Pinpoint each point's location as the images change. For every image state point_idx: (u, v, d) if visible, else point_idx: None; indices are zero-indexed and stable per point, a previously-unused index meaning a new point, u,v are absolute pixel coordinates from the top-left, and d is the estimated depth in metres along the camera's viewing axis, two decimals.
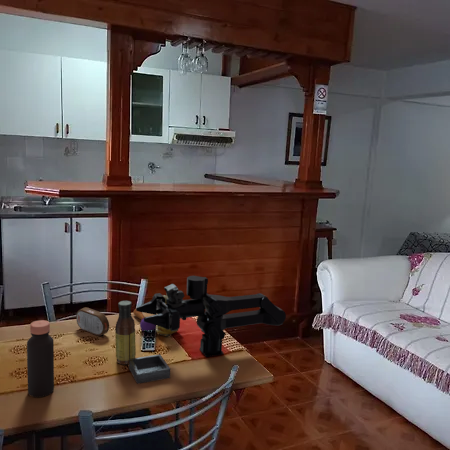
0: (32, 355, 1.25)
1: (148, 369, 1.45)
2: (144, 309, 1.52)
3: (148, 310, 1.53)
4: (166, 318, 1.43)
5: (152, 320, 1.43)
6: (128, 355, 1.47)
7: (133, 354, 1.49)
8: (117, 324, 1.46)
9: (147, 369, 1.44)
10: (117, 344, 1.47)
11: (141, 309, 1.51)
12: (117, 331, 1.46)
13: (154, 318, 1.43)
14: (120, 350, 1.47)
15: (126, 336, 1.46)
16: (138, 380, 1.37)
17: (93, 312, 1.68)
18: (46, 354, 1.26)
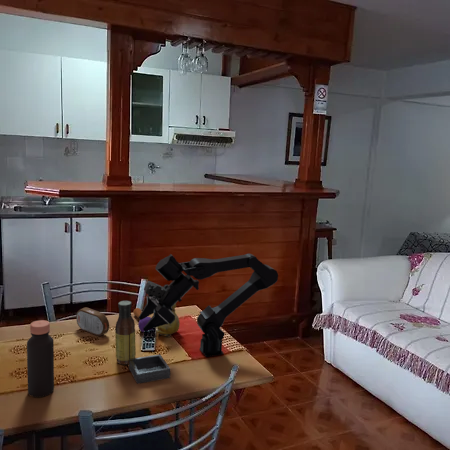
0: (32, 355, 1.25)
1: (148, 369, 1.45)
2: (146, 313, 1.55)
3: (150, 311, 1.55)
4: None
5: (150, 326, 1.45)
6: (128, 355, 1.47)
7: (133, 354, 1.49)
8: (117, 324, 1.46)
9: (147, 369, 1.44)
10: (117, 344, 1.47)
11: (143, 315, 1.54)
12: (117, 331, 1.46)
13: (150, 323, 1.45)
14: (120, 350, 1.47)
15: (126, 336, 1.46)
16: (138, 380, 1.37)
17: (93, 312, 1.68)
18: (46, 354, 1.26)
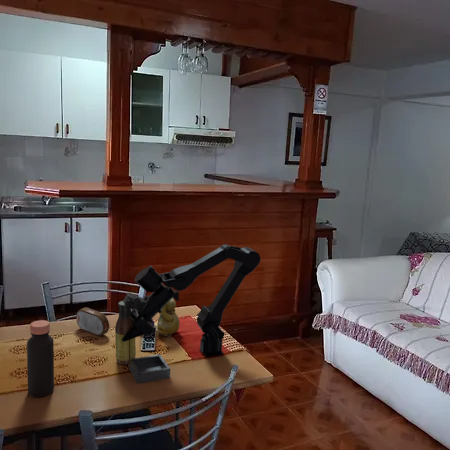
0: (32, 355, 1.25)
1: (148, 369, 1.45)
2: None
3: None
4: (137, 327, 1.44)
5: (129, 336, 1.45)
6: (128, 355, 1.47)
7: (133, 354, 1.49)
8: (117, 324, 1.46)
9: (147, 369, 1.44)
10: (117, 344, 1.47)
11: None
12: (117, 331, 1.46)
13: (129, 334, 1.45)
14: (120, 350, 1.47)
15: None
16: (138, 380, 1.37)
17: (93, 312, 1.68)
18: (46, 354, 1.26)
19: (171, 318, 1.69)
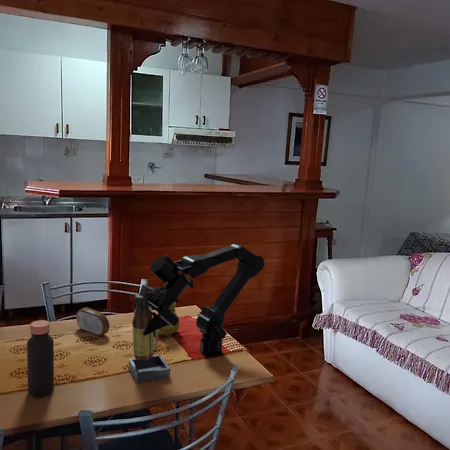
0: (32, 355, 1.25)
1: (148, 369, 1.45)
2: None
3: None
4: (160, 319, 1.39)
5: (150, 329, 1.40)
6: (149, 349, 1.42)
7: (153, 348, 1.43)
8: (136, 318, 1.40)
9: (147, 369, 1.44)
10: (137, 339, 1.40)
11: None
12: (136, 326, 1.40)
13: (151, 327, 1.39)
14: (141, 345, 1.40)
15: None
16: (138, 380, 1.37)
17: (93, 312, 1.68)
18: (46, 354, 1.26)
19: None
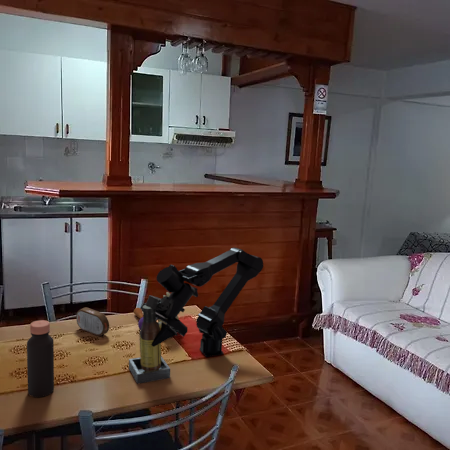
0: (32, 355, 1.25)
1: None
2: None
3: None
4: (168, 329, 1.39)
5: (159, 340, 1.39)
6: (157, 360, 1.41)
7: (160, 359, 1.43)
8: (144, 330, 1.39)
9: None
10: (145, 351, 1.39)
11: None
12: (145, 337, 1.39)
13: (159, 338, 1.39)
14: (150, 356, 1.40)
15: None
16: (138, 380, 1.37)
17: (93, 312, 1.68)
18: (46, 354, 1.26)
19: None
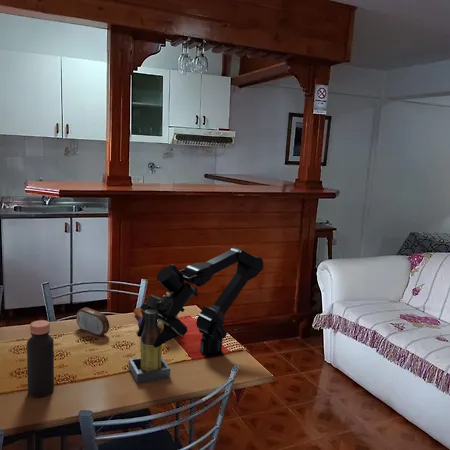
0: (32, 355, 1.25)
1: None
2: None
3: None
4: (171, 330, 1.38)
5: (161, 341, 1.38)
6: (157, 364, 1.41)
7: None
8: (146, 334, 1.38)
9: None
10: (146, 355, 1.39)
11: (141, 332, 1.45)
12: (146, 342, 1.38)
13: (161, 339, 1.38)
14: (150, 360, 1.39)
15: None
16: (138, 380, 1.37)
17: (93, 312, 1.68)
18: (46, 354, 1.26)
19: None
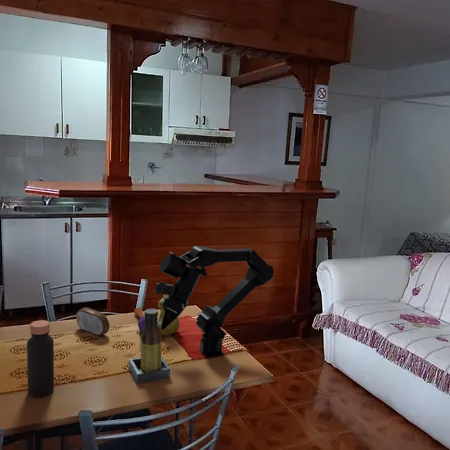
0: (32, 355, 1.25)
1: None
2: None
3: None
4: (169, 310, 1.44)
5: (166, 322, 1.45)
6: (157, 364, 1.41)
7: None
8: (146, 334, 1.38)
9: None
10: (145, 355, 1.39)
11: None
12: (146, 342, 1.38)
13: (165, 320, 1.45)
14: (150, 360, 1.39)
15: (156, 345, 1.39)
16: (138, 380, 1.37)
17: (93, 312, 1.68)
18: (46, 354, 1.26)
19: None
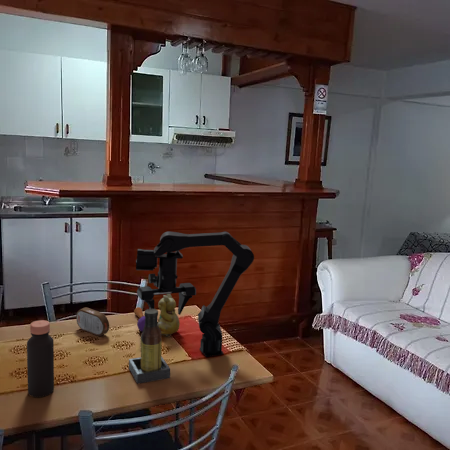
0: (32, 355, 1.25)
1: None
2: (180, 307, 1.57)
3: (181, 303, 1.56)
4: None
5: None
6: (157, 364, 1.41)
7: None
8: (146, 334, 1.38)
9: None
10: (146, 355, 1.39)
11: (179, 309, 1.57)
12: (146, 342, 1.38)
13: (149, 308, 1.53)
14: (150, 360, 1.39)
15: (156, 345, 1.39)
16: (138, 380, 1.37)
17: (93, 312, 1.68)
18: (46, 354, 1.26)
19: (171, 318, 1.69)
